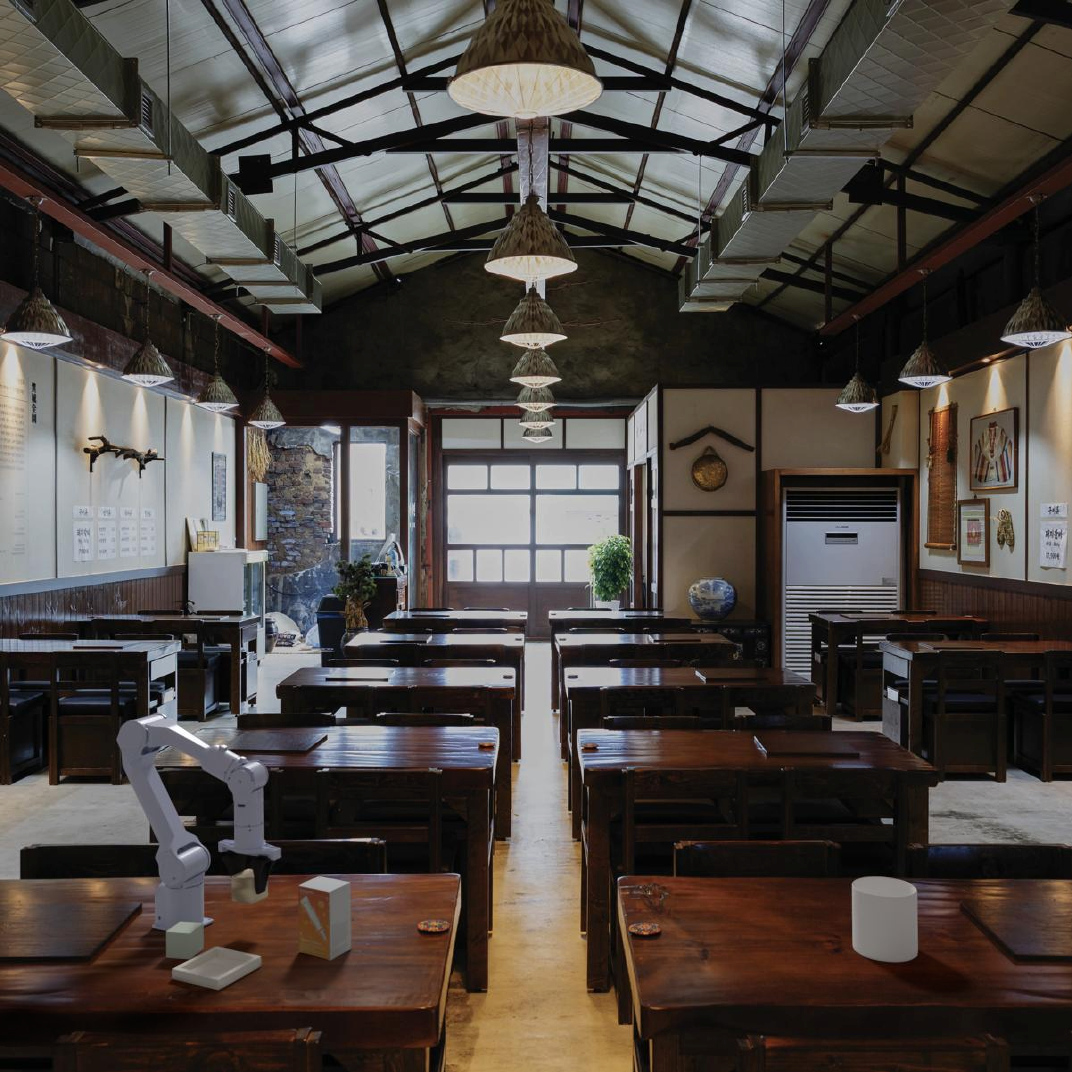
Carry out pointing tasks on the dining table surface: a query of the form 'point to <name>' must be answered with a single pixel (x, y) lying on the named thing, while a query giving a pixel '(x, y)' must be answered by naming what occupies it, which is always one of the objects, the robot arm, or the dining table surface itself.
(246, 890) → the maple cube
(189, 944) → the sage cube
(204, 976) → the tray
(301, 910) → the small box
